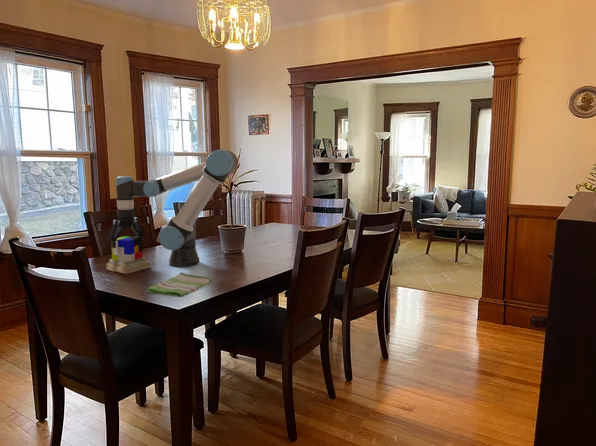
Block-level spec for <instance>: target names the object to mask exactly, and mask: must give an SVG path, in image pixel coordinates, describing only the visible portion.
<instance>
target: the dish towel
mask: <svg viewBox="0 0 596 446" xmlns="http://www.w3.org/2000/svg"><path fill="white" fill-rule="evenodd" d="M210 282H211V283H212V278H211V277H208V276H203V275H199V274H198V275H197V274H196V275H195V274H191V273H185V272H180V273H178V274H177V275H175V276H173V277H170V278H168V279H166V280H165V281H161V282H158V283H156V284H153V285H151V286H149V287H148V289H147V293H152V294H160V295H165V296H171V297H172V296H173V297H180V298H181V297H184V296H186V295H188V294H191V293H193V292H195V291H198V290H199V288H200V289H201V287H202V288H204V287H205V285H206V286H208V285H209V284H210ZM203 286H204V287H203Z"/></svg>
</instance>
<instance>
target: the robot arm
mask: <svg viewBox="0 0 596 446" xmlns="http://www.w3.org/2000/svg"><path fill="white" fill-rule="evenodd" d="M238 165H239V161H238V156H237V155H236V154H235V153H234V151H233V152H232V151H231V150H228V149H227V150H226V149H215V150H213V151H212V152H210V153H209V154H208V155H207V157H206V160H205V162H202V163H201V162H200V163H199V164H196V165H192V166H190V167H187V168H183V169H181V170H179V171H178V170H177V171H175V172H172V173H170V174H168V175H167V174H166V175H163V176H161V177H157V178H155V179H150V180H134V178H133V176H127V175H126V176H125V175H122V176H121V175H120V176H117V177H116V178H115V192H116V208H117V210H116V213H117V215H116V216H117V219H112V223H111V224H112V225H111V228H110V230H109V233H108V236H107V241H109V242H111V243H112V246H111V249H112V248H113V255H118V241H116V240H117V238H120V237H119V236H120V235H121V233H122V232H123V231H124V230H125V229H128V228H129V229H130V230H132V232H133V233H134V234H135V236H136V237H142V238H143V237H144V235H145V234H146V233H145V231H144V228H143V227H142V225H141V223H140V218H139V217H136V216H135V209H134V208H135V203H134V200H135V199H134V197H142V198H143V197H144V198H145V197H147V198H154V197H157V196H158V195H162V194H163V193H166V192H169V191H171V190H174V189H177V188H180V187H184V186H186V185H189V184H192V183H195V182H197V183H196V184H195V186H194V188H193V190H192V191H191V193H190V194H189V195H188V197H187V199H186V201H185V202H184V204H183V206H182V207H181V208H180V210H179V212H178V213H177V215H175V216H171V219H170V220H169V222H168V223H167V224H166V226H164V227H163V228H162V229H161V230H160V232H159V234H158V240H159V243H160V245H161V246H162V247H163V248H164V249H165V250H168V251H171V252H170V253H171V254H170V256H169V259H168V264H169V266H171V267H178V268H181V267H182V268H185V267H186V268H187V267H194V266H197V265H199V264H200V257H199V254H198V251H197V248H196V245H197V244H196V243H197V242H196V227H197V226H196V221H197V220H198V217H199V216H200V215H201V213H202V211H203V210H204V209H205V206H206V205H207V203H208V202H209V201H210V200H211V198H212V196H213V194H214V193H215V191H216V190H217V188H218V186H219V185H222V184H224V183H225V181H226V180H227V178H228V177H229V176H230V175H231V174H232V173H234V172H235V171H236V170H237V168H238Z"/></svg>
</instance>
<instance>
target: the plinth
mask: <svg viewBox="0 0 596 446" xmlns="http://www.w3.org/2000/svg"><path fill="white" fill-rule="evenodd" d="M149 268H150V261H148V260H147V257H144V256H143V257H142V258H139V259H136V260H134V261H131V262H129V261H116V260H112V258H110V259H108V263H105V270H106V271H111V272H116V273H122V274H131V273H134V272H138V271H142V270H146V269H149Z"/></svg>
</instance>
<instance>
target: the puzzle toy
mask: <svg viewBox="0 0 596 446" xmlns="http://www.w3.org/2000/svg"><path fill="white" fill-rule="evenodd" d="M116 241H118V255H113V248H112V243H111V244H110V245H111V259H112V260H116V261H129V262H131V261H134V260H136V259H139V258H142V257H144V255H143V254H144V253H143V251H144V250H143V237H137V236H129V235H126V236H124V235H123V236H120V237H118V238H117V240H116Z"/></svg>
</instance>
